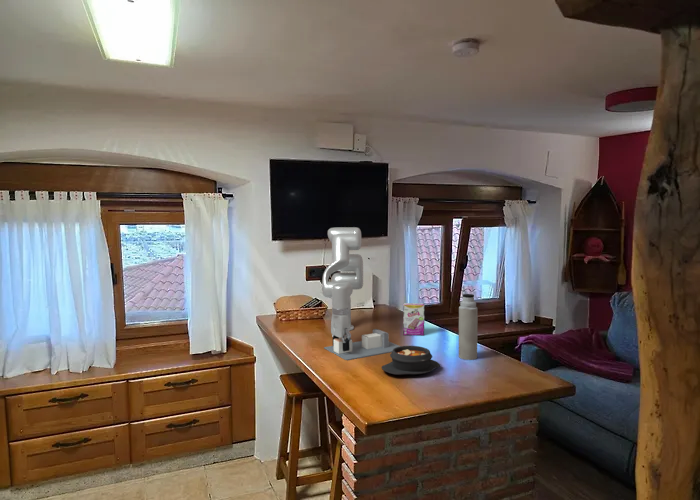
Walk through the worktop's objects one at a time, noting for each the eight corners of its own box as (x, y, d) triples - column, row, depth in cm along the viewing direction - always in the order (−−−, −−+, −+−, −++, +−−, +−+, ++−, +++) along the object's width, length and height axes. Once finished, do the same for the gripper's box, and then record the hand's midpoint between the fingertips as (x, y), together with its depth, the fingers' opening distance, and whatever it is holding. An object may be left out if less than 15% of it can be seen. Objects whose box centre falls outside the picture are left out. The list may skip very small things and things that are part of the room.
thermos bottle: (459, 353, 208) (459, 292, 206) (477, 355, 205) (478, 293, 203) (457, 359, 200) (458, 295, 198) (476, 360, 198) (477, 296, 196)
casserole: (397, 383, 172) (397, 361, 172) (372, 369, 189) (372, 348, 188) (450, 372, 184) (450, 351, 183) (422, 359, 200) (422, 340, 200)
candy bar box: (403, 335, 241) (403, 304, 240) (403, 333, 246) (402, 302, 245) (424, 335, 240) (424, 304, 239) (424, 333, 245) (424, 303, 244)
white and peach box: (333, 351, 212) (333, 338, 212) (346, 348, 215) (346, 336, 215) (338, 353, 208) (338, 341, 207) (352, 351, 211) (352, 339, 211)
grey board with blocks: (324, 348, 219) (323, 333, 219) (380, 338, 235) (379, 325, 234) (346, 360, 200) (346, 344, 199) (405, 349, 216) (405, 334, 215)
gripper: (324, 308, 216) (325, 344, 217) (342, 316, 201) (342, 354, 202) (338, 307, 219) (339, 342, 221) (357, 314, 204) (357, 351, 206)
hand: (340, 348), depth 211 cm, fingers open, 9 cm apart
